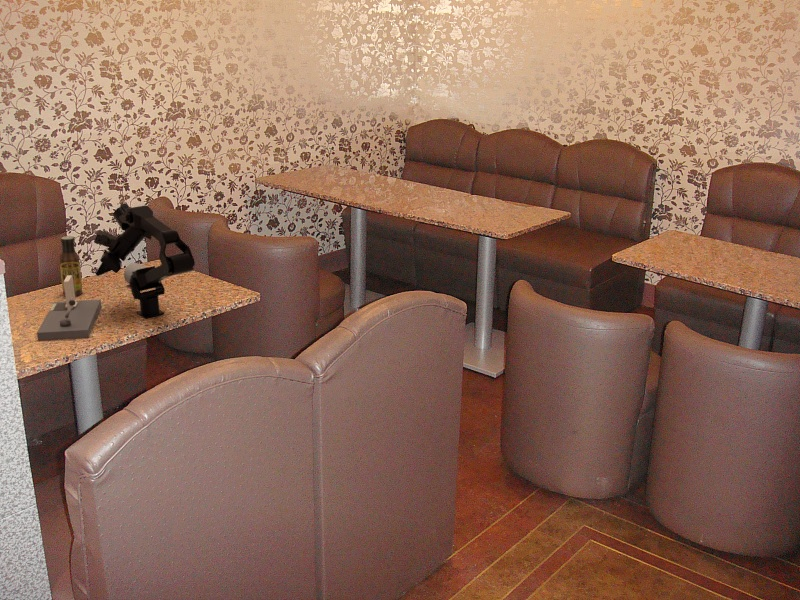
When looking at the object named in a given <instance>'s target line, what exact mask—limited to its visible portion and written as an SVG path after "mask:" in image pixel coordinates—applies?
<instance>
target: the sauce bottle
mask: <svg viewBox="0 0 800 600" xmlns="http://www.w3.org/2000/svg"><path fill="white" fill-rule="evenodd" d="M60 242H61V246H62V247H61V250H62V252H61V254H60V256H59V268H60V277H61V287H62V293H63V295H64V296H65V289H64V280H65V278H66V277H67V275H72V278H73V285H74V293H75V297H77V296H81V295H82V294H83V283H82V282H83V281H82V272H81V271H82V270H81V262H80V255H79V254H78V253H77V251H76V249H75V248H76V247H75V237H74V236H71V235H67V236H62V237H60Z"/></svg>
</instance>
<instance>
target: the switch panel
mask: <svg viewBox="0 0 800 600" xmlns="http://www.w3.org/2000/svg"><path fill="white" fill-rule="evenodd" d="M76 302H78V303H77V305H76V307H73V308H72V309H71V312H70V315H69V317H68V318H65V315H66V312H67V310H68V309H67V308H65V306H66V304H67V303H66V300H65V301H64V300H63V301H54V302H53V304H52V306H51V307H50V309H49V311H48V312H47V314H46V316H45V318H44V319H43V321H42V323H41V324H40V327H39V328H38V330H37V332H36V337H37V341H38V340H42V341H54V340H55V341H56V340H58V339H59V340H72V339H74V340H75V339H89V338H90V336H91V333H92V330H93V328H94V326H95V323H96V321H97V318H98V316H99V314H100V312H101V309H102V300H101V299H86V300H83V299H82V300H76Z"/></svg>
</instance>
